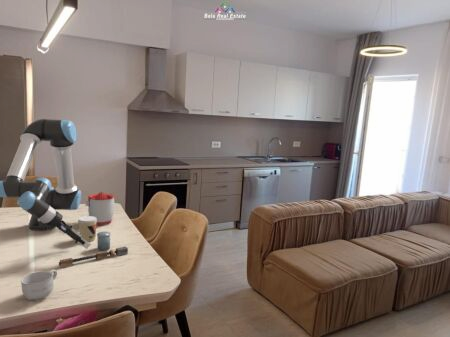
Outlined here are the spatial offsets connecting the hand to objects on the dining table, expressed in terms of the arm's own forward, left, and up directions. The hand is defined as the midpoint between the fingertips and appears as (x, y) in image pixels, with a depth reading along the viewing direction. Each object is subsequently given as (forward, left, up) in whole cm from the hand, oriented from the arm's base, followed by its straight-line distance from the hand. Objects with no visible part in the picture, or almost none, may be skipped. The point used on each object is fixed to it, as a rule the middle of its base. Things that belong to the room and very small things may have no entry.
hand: (84, 241), depth 172 cm
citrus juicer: (-40, +22, -6) cm, 46 cm away
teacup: (+31, -25, -6) cm, 41 cm away
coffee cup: (-16, +7, -6) cm, 18 cm away
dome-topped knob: (0, +10, -5) cm, 11 cm away
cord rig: (+11, +1, -5) cm, 12 cm away
